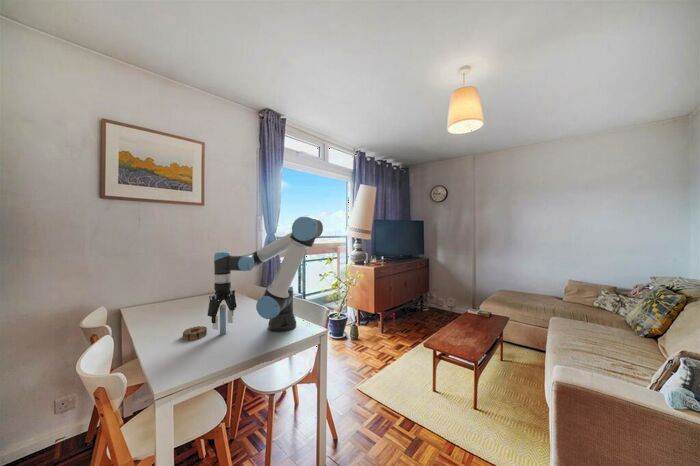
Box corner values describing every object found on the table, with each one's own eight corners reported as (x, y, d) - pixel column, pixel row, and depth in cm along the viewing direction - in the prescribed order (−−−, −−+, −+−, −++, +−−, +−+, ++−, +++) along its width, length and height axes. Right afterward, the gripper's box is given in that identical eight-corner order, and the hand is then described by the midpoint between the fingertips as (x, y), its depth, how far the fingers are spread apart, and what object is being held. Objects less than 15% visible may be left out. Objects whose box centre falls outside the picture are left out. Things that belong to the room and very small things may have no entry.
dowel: (227, 333, 128) (227, 303, 128) (222, 335, 126) (222, 305, 125) (223, 332, 129) (223, 303, 129) (218, 334, 127) (218, 304, 126)
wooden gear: (211, 333, 128) (211, 327, 128) (192, 341, 118) (192, 335, 118) (197, 330, 132) (197, 325, 131) (178, 338, 122) (178, 332, 122)
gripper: (233, 277, 138) (233, 317, 139) (198, 285, 119) (198, 332, 119) (244, 278, 135) (244, 319, 136) (209, 286, 116) (209, 335, 116)
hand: (222, 325), depth 127 cm, fingers open, 8 cm apart
